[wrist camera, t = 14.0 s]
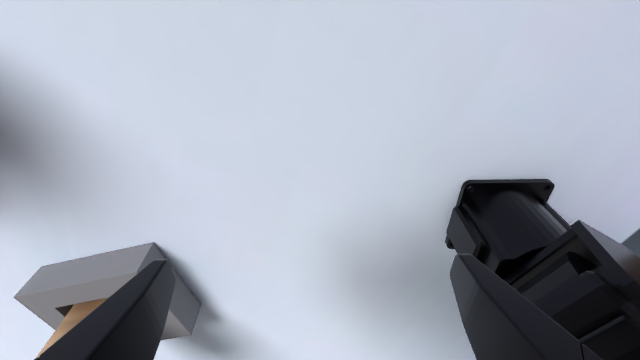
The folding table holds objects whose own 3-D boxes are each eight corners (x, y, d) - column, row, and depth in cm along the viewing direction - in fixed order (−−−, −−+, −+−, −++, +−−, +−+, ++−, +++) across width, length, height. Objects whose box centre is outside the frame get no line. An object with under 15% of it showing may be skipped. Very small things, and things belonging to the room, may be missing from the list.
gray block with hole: (153, 242, 26) (136, 271, 23) (201, 304, 30) (191, 334, 28) (41, 266, 27) (13, 297, 24) (103, 322, 31) (85, 353, 29)
